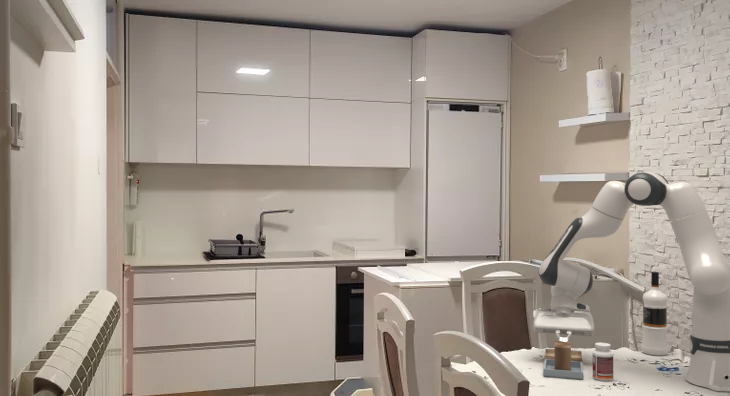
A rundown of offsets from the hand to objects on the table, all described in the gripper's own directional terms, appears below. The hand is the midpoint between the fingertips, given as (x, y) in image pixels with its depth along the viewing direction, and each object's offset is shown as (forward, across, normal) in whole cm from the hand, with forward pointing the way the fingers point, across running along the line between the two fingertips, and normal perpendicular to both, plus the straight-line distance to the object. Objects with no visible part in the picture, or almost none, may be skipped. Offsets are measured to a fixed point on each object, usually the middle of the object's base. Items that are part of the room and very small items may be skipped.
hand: (563, 343), depth 213 cm
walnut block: (+4, 0, 0) cm, 5 cm away
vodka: (-15, +32, +27) cm, 44 cm away
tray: (+11, 0, 0) cm, 11 cm away
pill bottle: (+13, +12, -2) cm, 18 cm away
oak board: (+2, 0, +9) cm, 9 cm away
